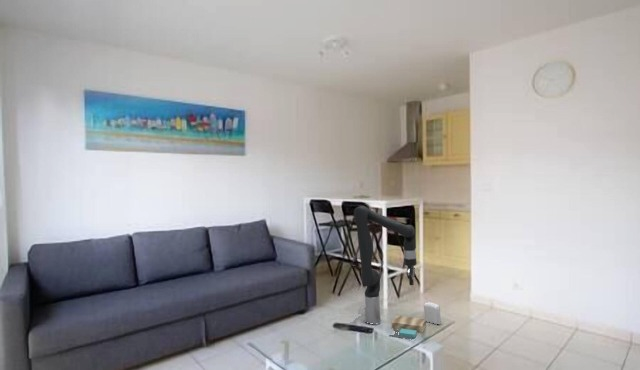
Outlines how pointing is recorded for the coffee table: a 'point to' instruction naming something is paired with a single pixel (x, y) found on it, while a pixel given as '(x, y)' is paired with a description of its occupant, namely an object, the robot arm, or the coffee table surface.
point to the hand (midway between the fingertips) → (411, 284)
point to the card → (408, 333)
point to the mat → (398, 335)
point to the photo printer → (432, 313)
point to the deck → (409, 323)
